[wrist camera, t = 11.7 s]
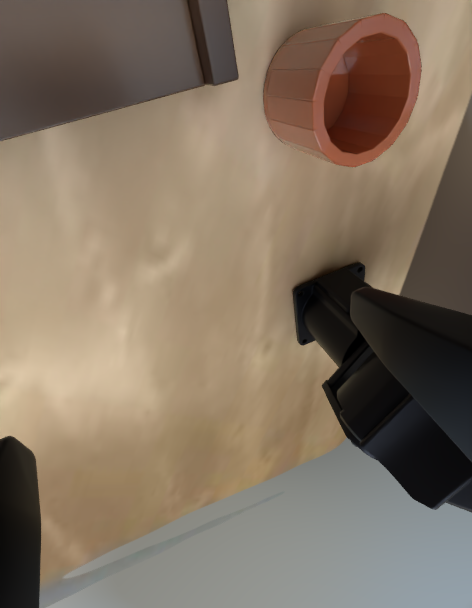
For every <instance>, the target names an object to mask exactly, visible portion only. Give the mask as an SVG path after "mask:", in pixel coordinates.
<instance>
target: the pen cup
mask: <svg viewBox="0 0 472 608" xmlns="http://www.w3.org/2000/svg"><path fill="white" fill-rule="evenodd" d="M421 67H422V66H421V59H420V53H419V46H418V42H417V39H416V38H415V36H414V35H413V33H412V32H411V30H410V28H409V27H408V25H407V24H406V22H404V21H403V20H401V19H399V18H396V17H394V16H391V15H389V14H386V13H380V14H375V15H370V16H365V17H360V18H355V19H350V20H345V21H340V22H335V23H330V24H325V25H320V26H316V27H312V28H307V29H304V30H301V31H299V32H297V33H295V34H294V35H293V36H291V37H290V38H289V39H288V40H287V41H286V42H285V43H284V44H283V45H282V46H281V47H280V49H279V50H278V51H277V53H276V54H275V56H274V58H273V60H272V62H271V64H270V66H269V69H268V72H267V75H266V80H265V85H264V96H263V100H264V110H265V115H266V119H267V122H268V124H269V126H270V128H271V130H272V132H273V133H274V135H275V136H276V137H277V138H278V139H279V140H280V141H281V142H282V143H284V144H285V145H288V146H290V147H291V148H293V149H295V150H298V151H301V152H304V153H306V154H309V155H312V156H314V157H317V158H320V159H323V160H325V161H328V162H331V163H333V164H336V165H341V166H348V167H356V166H359V165H362V164H365V163H368V162H371V161H373V160H375V159H376V158H377V157H378V156H380V155H381V154H382V153H383V152H384V151H386V150H387V149H388V148H389V147H391V145H393V143H394V142H395V140H396V139H397V137H398V136H399V135H400V133H401V132H402V130H403V129H404V128H405V126H406V124H407V123H408V120H409V118H410V115H411V113H412V110H413V108H414V105H415V103H416V100H417V96H418V92H419V85H420V78H421V71H422V70H421Z"/></svg>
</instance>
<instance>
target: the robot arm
mask: <svg viewBox="0 0 472 608" xmlns="http://www.w3.org/2000/svg"><path fill="white" fill-rule="evenodd" d="M358 268H359V269H358ZM364 276H365V265H364V264H362V263H361V262H357V263H355V264H352V265H350V266H347V267H345V268H342V269H340V270H337V271H335V272H332V273H330V274H327V275H325V276H322V277H320V278H317V279H315V280H313V281H310V282H308V283H305V284H303V285H300V286H298V287H296V288H295V289H294V291H293V300H294V310H295V320H296V330H297V340H298V342H299V344H300V345H306V344H308V343H310V342H312V341H315V340H316V341H317V342H318V343H319V345H320V346H321V347H322V348H323V349H324V350H325V352H326V353H327V354H328V355H329V356H330V357H331V359H332V360H333V361H334V362H335V363H336V364H337V366H338V367H339V368H338V369H337V371H336V372H335V373H334V374H333V375H332V376H331V377H330V378H329V380H326V381H325V382H324V383H323V384H322V387H323V389H324V391H325V394H326V396H327V398H328V400H329V402H330V404H331V406H332V409H333V411H334V413H335V415H336V417H337V419H338V421H339V423H340V425H341V427H342V429H343V431H344V433H345V435H346V436H347V438H348V439H350V440H351V442H352V443H353V444H354V445H355V446H356V447H358V448H360V449H361V450H362V451H363V452H364V453H366V454H367V455H369V456H370V457H372V458H374V459H376V460H378V461H379V462H380V463H381V464H382V465H383V466H384V467H386V469H387V470H388V471H389V472H390V473H391V474H392V475H393V476H394V477H395V479H396V480H397V481H398V482H399V483H400V484H401V486H402V487H403V488H404V489H405V490H406V491H407V492H408V494H409V495H410V496H411V497H412V498H413V499H414V500H416V501H418V502H420V503H422V504H424V505H426V506H427V507H429V508H431V509H435V510H436V509H438V508H439V507H440V506H441V505H443V504H444V503H445V502H446V503H448V504H451V505H454V506H456V507H459V508H462V509H465V510H467V511H469V512H472V315H468V314H465V313H461V312H457V311H454V310H450V309H446V308H442V307H439V306H436V305H431V304H428V303H425V302H420V301H417V300H414V299H410V298H406V297H403V296H399V295H395V294H392V293H388V292H385V291H381V290H377V289H374V288H372V287H371V286H370V285H368V284H367V283H366V282H364ZM300 291H301V292H300ZM299 292H300V293H299ZM298 293H299V294H298ZM40 556H41V514H40V503H39V491H38V479H37V468H36V459H35V456H34V454H33V452H32V451H31V450H30V449H28V448H27V447H26V446H25V445H23V444H22V443H21V442H20V441H18V440H17V439H16V438H14V437H12V436H7V437H5V438H2V439H0V608H39V590H40Z"/></svg>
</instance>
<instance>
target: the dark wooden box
mask: <svg viewBox="0 0 472 608" xmlns="http://www.w3.org/2000/svg"><path fill="white" fill-rule="evenodd" d="M237 79H238V70H237V64H236V57H235V50H234V44H233V37H232V31H231V24H230V18H229V11H228V4H227V0H0V141H3V140H7V139H11V138H14V137H18V136H22V135H25V134H29V133H33V132H36V131H40V130H44V129H47V128H51V127H55V126H58V125H62V124H66V123H69V122H73V121H77V120H80V119H84V118H88V117H91V116H95V115H99V114H102V113H106V112H110V111H113V110H117V109H121V108H124V107H128V106H132V105H135V104H139V103H143V102H146V101H150V100H154V99H157V98H161V97H165V96H168V95H172V94H176V93H179V92H183V91H187V90H190V89H194V88H198V87H202V86H204V85H213V86H216V85H220V84H223V83H227V82H231V81H234V80H237Z"/></svg>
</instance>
